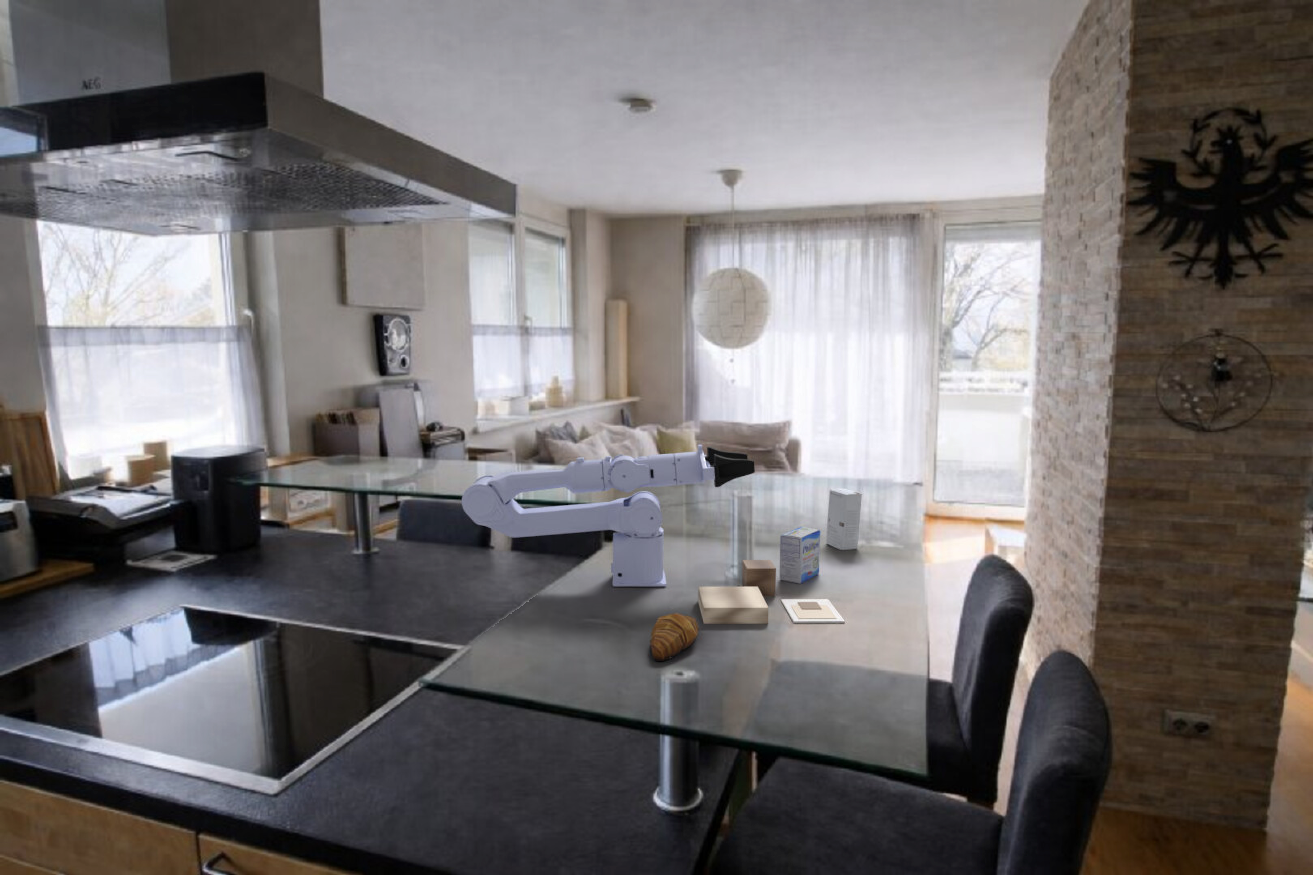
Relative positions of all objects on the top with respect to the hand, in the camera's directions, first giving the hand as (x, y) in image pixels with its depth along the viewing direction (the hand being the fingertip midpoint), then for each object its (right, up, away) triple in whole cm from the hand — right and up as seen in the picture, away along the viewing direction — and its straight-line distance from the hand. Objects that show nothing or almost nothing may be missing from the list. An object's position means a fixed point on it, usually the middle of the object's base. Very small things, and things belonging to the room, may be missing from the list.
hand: (750, 463), depth 135 cm
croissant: (-14, -26, -26) cm, 40 cm away
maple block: (-5, -24, -13) cm, 28 cm away
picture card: (+8, -24, -13) cm, 28 cm away
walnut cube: (+1, -22, -3) cm, 23 cm away
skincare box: (+23, -19, +26) cm, 40 cm away
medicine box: (+10, -22, +5) cm, 24 cm away
